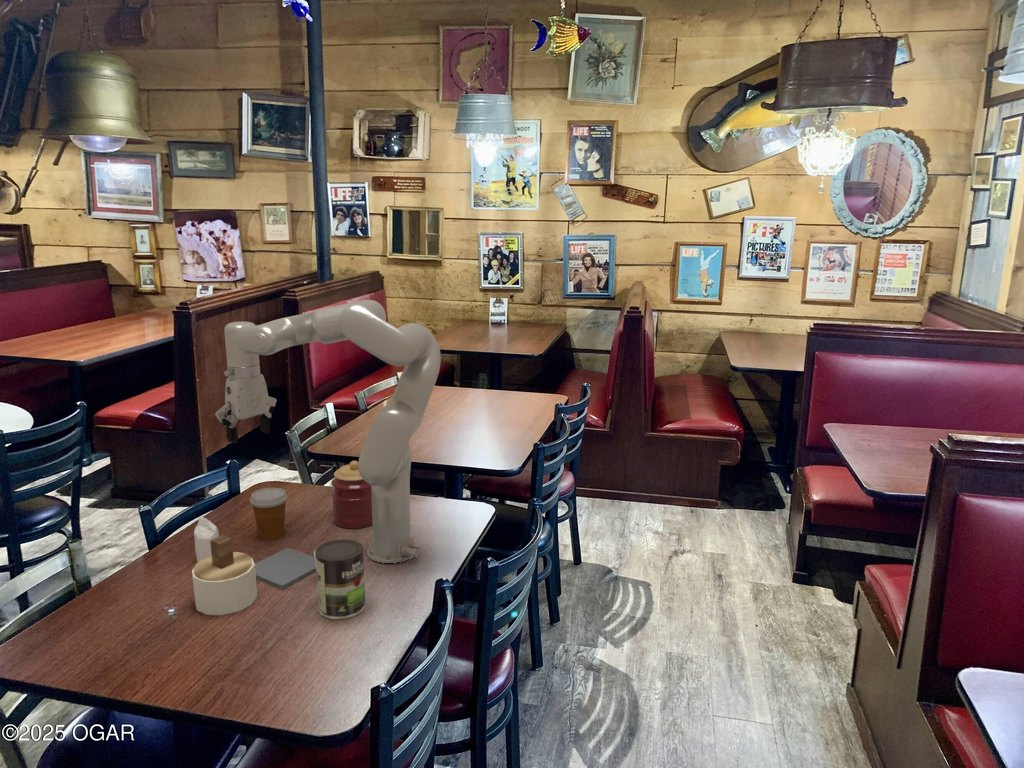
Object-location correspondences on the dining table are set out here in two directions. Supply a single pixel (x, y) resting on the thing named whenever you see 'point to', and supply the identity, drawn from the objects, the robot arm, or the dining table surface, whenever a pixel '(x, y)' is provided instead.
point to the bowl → (225, 593)
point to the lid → (222, 561)
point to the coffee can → (340, 579)
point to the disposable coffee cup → (269, 512)
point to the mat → (285, 568)
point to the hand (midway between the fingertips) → (249, 437)
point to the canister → (351, 498)
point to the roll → (204, 537)
